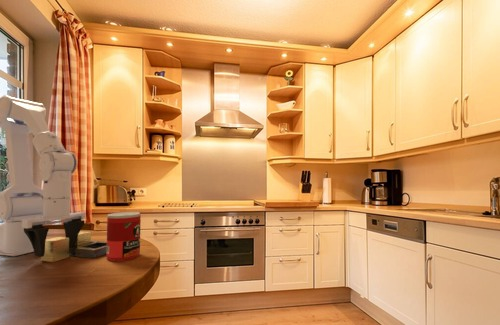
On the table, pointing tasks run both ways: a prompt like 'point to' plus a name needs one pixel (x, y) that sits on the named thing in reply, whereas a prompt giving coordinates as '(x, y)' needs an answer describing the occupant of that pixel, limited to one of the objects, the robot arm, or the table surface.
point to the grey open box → (87, 246)
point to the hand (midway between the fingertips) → (55, 252)
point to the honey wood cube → (56, 249)
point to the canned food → (123, 236)
